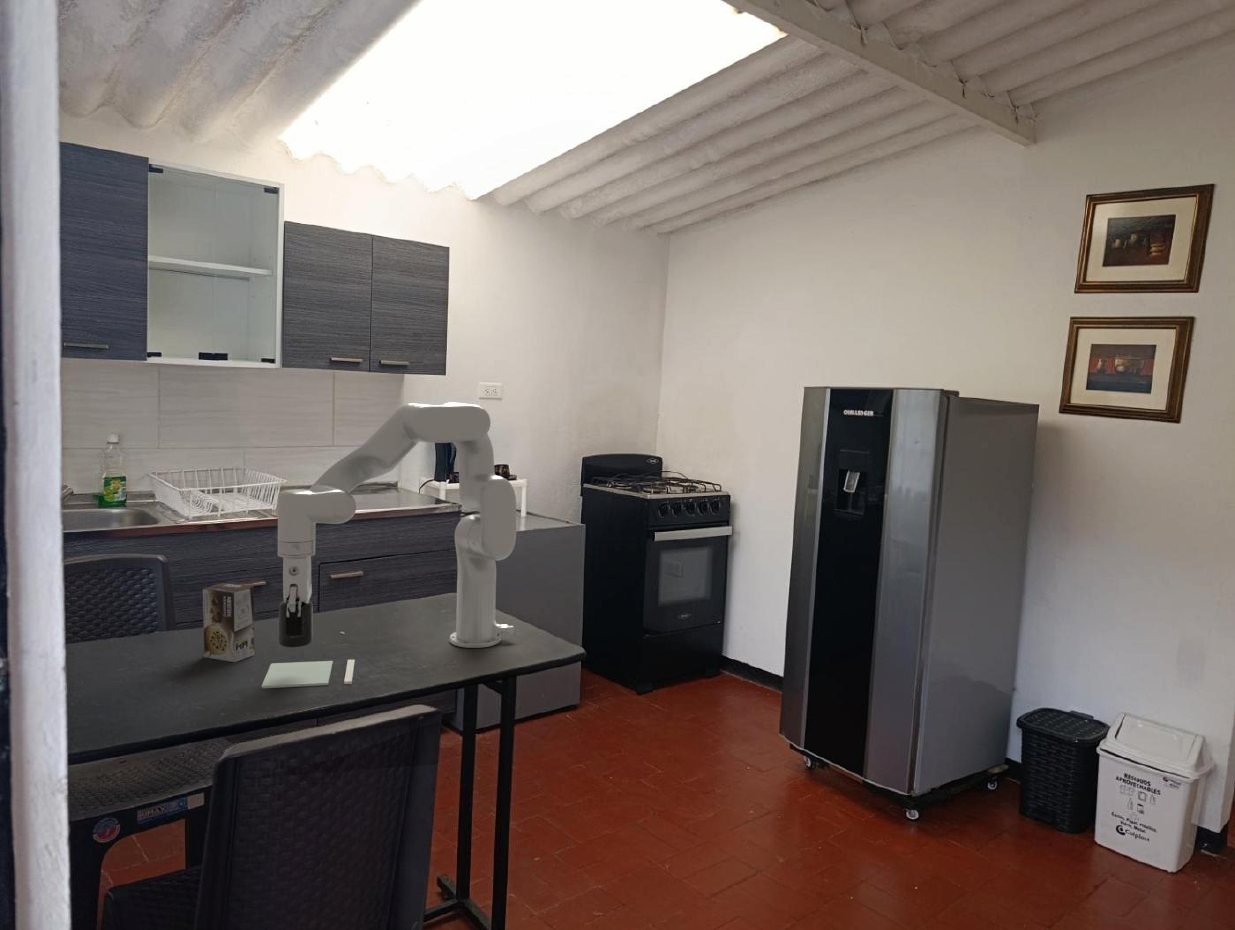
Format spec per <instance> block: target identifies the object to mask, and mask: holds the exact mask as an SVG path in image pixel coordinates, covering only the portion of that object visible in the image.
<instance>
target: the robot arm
mask: <svg viewBox="0 0 1235 930" xmlns="http://www.w3.org/2000/svg"><path fill="white" fill-rule="evenodd" d="M490 428H491V417H490V415H489V413H488V411H487V410H486V409H485V408H484V407H482V406H480V405H479V404H474V403H463V402H457V401H456V402H453V401H452V402H451V401H450V402H444V403H442V404H441V405H439V404H435V405H434V404H427V403H426V404H425V403H416V402H414V403H413V402H412V403H405V404H403V405H402V406H400V407H399V408H398V409H397V410H396V411H395V412H393V414H391V416H390V417H389V418H388V419H386V420H385V422H384V423H383V424H381V426H380V427H379V428H378V429H377V430H376V431H375V432H374V433H373V434H372V435H371V436H370V437H369V438H368V439H367V440H366V441H365V442H364V443H363V444H362V445H361V446H359V447H358V448H356V449H354V450H352V451H351V452H350V453H348V454H347V455H346V456H344V457H343V458H341V459H340V460H338V461H337V462H335V463H334V464H333V465H332V466H330V467H329V468H328V469H327V470H326V471H325V472H324V473H322V475H321V476H319V478H318V479H317V480H316V481H315V482H314V483H313V484H312V485H311V486H310V488H309V489H301V488H299V489H298V488H297V489H285V490H282V491H281V492H280V493H279V495H278V498H277V556H278V557H280V558H282V559H283V563H282V564H283V565H282V568H283V569H282V586H283V587H282V592H283V597H282V598H283V601H284V602H285V603H286V604H287V616H286V635H301V634H302V616H301V604H302V602H305V603H307V602H308V601H309V600H310V599H311V597H312V594H313V591H312V590H313V589H312V587H313V586H312V558H311V557H314V556H315V555H316V524H331V525H338V524H339V525H340V524H344V523H346V522H348V521H349V520H351V519H352V518H353V517H354V516H355V514H356V512H357V502H356V499H354V498H355V497H353V495H352V494H350V493H351V491H353V490H354V489H355V488H357V487H358V486H360V485H362V484H363V483H364V482H366V481H369V480H371V479H374V478H378V477H382V476H384V475H386V474H388V473H390V472H392V471H393V470H394V469H395V468H396V467H397V466H398V464H400V463H401V461H402V460H403V459H404V458H405V457H406V456H407V455H408V454H409V453H410V452H411V451H412V450H413V449H414V447H416V445H418V443H420V442H422V443H432V444H434V443H435V444H437V443H438V444H439V443H440V444H443V443H445V444H447V443H453V445H454V447H455V449H456V451H457V456H458V457H457V458H458V479H459V480H458V488H459V489H458V491H459V500H460V503H461V504H462V505H463V506H464V507H465V508H467V509H470V510H472V511H475V512H479V513H480V514H470V515H467V516H465V517H463V518H462V519H461V520H460V521H459V522H458V524H457V525H456V527H455V530H454V544H455V545H454V546H455V553H456V560H457V562H456V563H457V566H456V567H457V581H456V582H457V583H456V621H455V622H456V623H455V625H456V627H455V632H453V633H451V634H450V635H449V642H450V644H452V645H454V646H457V647H460V648H467V649H469V648H470V649H482V648H489V647H492V646H495V645H497V644H499V643H500V642H501V641H502V639H501V638H502V637H501V635H502V634H506V635H511V634H514V632H515V630H514V629H515V628H514V625H508V624H503V623H502V624H499V623H497V621H496V592H497V588H496V587H497V565H496V562H497V561H503V560H505V559H507V558H508V557H509V556H510V555H511V554H512V552H513V551H514V548H515V545H516V542H517V541H516V540H517V497H516V493H515V488H514V487H513V485H512V484H511V482H510V481H509V480H508V479H507V478H504V477H503V476H501V475H496V471H495V460H494V459H495V458H494V449H493V444H492V441H491V439H490V437H489V434H488V433H489V431H490ZM297 587H298V592H297ZM287 598H288V599H287ZM296 600H299V602H296ZM296 605H298V607H297V606H296Z"/></svg>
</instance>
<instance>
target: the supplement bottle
mask: <svg viewBox="0 0 1235 930" xmlns="http://www.w3.org/2000/svg"><path fill="white" fill-rule="evenodd" d="M297 592H298V587H297ZM287 599H288V598H287ZM296 602H299V600H296ZM313 605H314V604H313V602H312V601H311V600H310V599H309V601H308V602H307V603H305V602H302V604H301V616H302V634H301V635H286V616H287V604H286V603H285V602H284V600H283V601H282V602H280V603H279V605H278V643H279V645H280V646H281V647H283V648H291V649H292V648H293V649H294V648H295V649H296V648H303V647H306V646H308V645H311V644H312V642H313V641H314V640H313V639H314V634H313V632H314V631H313V630H314V629H313V627H314V624H313V623H314V621H313V620H314V619H313V617H314V611H313V610H314V609H313V608H314V606H313ZM296 606H297V607H298V605H296Z"/></svg>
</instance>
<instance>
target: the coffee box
mask: <svg viewBox="0 0 1235 930" xmlns="http://www.w3.org/2000/svg"><path fill="white" fill-rule="evenodd" d="M254 590H255V586H252V585H244V584H236V583H227V582H221V583H217V584H213V585H211V586H209V587H205V588H202V608H203V609H202V614H203V653H204V655H203V656H204V658H206V659H207V658H208V659H213V660H214V659H215V660H219V661H225V662H231V663H237V662H239V661H242V660H245V659H246V658H250V657H253V656H254V655H255V607H254V606H255V601H254V600H255V599H254V598H255V596H254V595H255V593H254V592H255V591H254Z"/></svg>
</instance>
